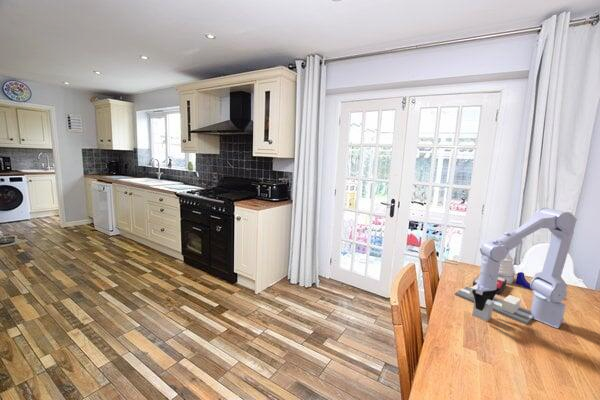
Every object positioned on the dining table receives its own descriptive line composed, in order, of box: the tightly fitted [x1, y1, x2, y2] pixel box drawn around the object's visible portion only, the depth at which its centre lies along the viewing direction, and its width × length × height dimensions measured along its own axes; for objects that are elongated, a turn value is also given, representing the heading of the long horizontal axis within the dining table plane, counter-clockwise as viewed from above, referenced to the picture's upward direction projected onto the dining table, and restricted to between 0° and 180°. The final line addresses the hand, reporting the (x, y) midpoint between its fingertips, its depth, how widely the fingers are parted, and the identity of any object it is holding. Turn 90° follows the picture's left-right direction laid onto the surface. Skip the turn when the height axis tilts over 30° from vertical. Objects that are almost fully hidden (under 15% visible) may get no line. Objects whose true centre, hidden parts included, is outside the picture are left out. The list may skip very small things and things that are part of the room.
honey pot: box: [498, 252, 516, 285], centre depth 142 cm, size 13×13×18 cm
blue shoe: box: [515, 271, 533, 291], centre depth 133 cm, size 12×4×6 cm, turn 25°
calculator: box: [472, 273, 507, 296], centre depth 133 cm, size 11×4×15 cm
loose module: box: [471, 299, 494, 322], centre depth 105 cm, size 5×4×7 cm
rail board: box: [454, 286, 533, 326], centre depth 116 cm, size 26×12×1 cm, turn 37°
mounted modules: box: [469, 284, 522, 314], centre depth 115 cm, size 16×8×4 cm, turn 37°
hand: (483, 306), depth 105 cm, fingers open, 7 cm apart
